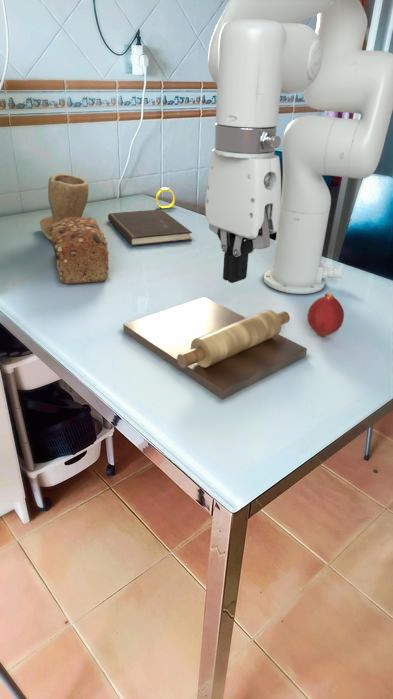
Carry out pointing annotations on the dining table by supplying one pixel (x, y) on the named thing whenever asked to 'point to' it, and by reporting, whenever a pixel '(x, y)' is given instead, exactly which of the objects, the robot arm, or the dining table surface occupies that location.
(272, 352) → the pastry board
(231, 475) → the dining table surface
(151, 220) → the hardcover book
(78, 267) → the bread
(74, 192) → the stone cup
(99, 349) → the dining table surface
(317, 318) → the onion
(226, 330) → the rolling pin
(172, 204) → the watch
